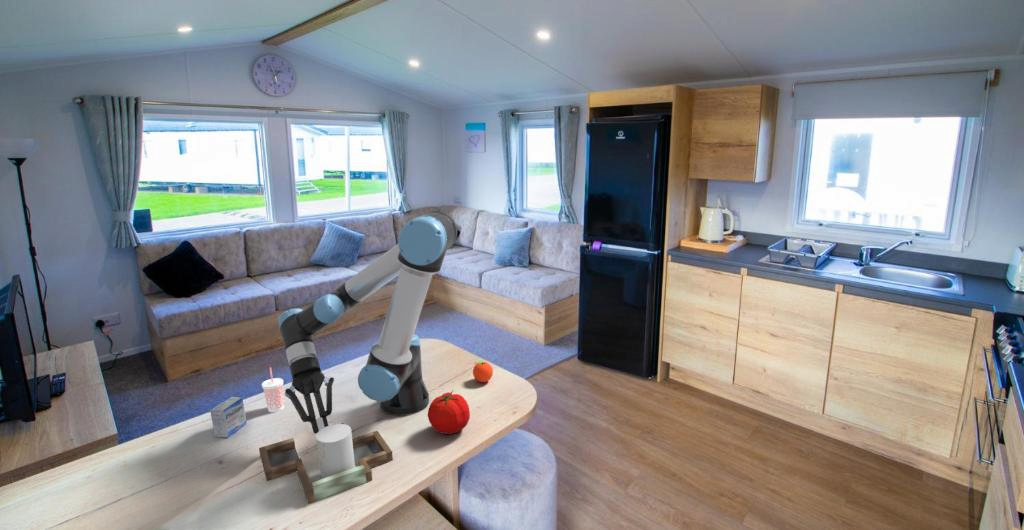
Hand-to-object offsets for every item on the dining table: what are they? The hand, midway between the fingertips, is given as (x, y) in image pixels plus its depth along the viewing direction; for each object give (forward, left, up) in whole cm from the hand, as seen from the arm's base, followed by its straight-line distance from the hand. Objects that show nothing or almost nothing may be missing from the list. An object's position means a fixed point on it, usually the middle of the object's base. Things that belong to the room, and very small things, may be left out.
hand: (324, 443), depth 132 cm
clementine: (-56, -17, -5) cm, 59 cm away
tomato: (-33, +5, -5) cm, 34 cm away
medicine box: (+20, -31, -5) cm, 37 cm away
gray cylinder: (-1, +8, -5) cm, 10 cm away
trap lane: (0, +2, -5) cm, 5 cm away
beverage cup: (+7, -37, -5) cm, 38 cm away
